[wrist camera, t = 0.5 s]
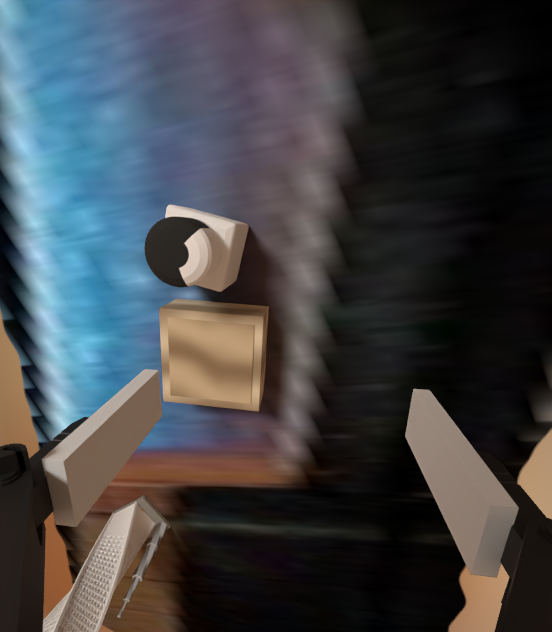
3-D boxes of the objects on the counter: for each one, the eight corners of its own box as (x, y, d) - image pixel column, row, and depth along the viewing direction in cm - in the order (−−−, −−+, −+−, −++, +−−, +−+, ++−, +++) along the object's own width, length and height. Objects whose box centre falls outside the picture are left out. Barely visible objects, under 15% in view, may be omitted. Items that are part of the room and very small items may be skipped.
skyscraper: (134, 543, 52) (-46, 871, 26) (103, 510, 51) (-122, 820, 24) (171, 525, 50) (17, 860, 24) (139, 490, 49) (-61, 804, 22)
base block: (176, 298, 40) (158, 308, 35) (268, 306, 39) (263, 317, 34) (179, 381, 43) (163, 401, 38) (264, 390, 42) (258, 412, 37)
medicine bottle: (182, 266, 38) (129, 282, 27) (192, 208, 36) (139, 198, 25) (236, 281, 38) (206, 304, 27) (249, 224, 36) (223, 222, 25)
